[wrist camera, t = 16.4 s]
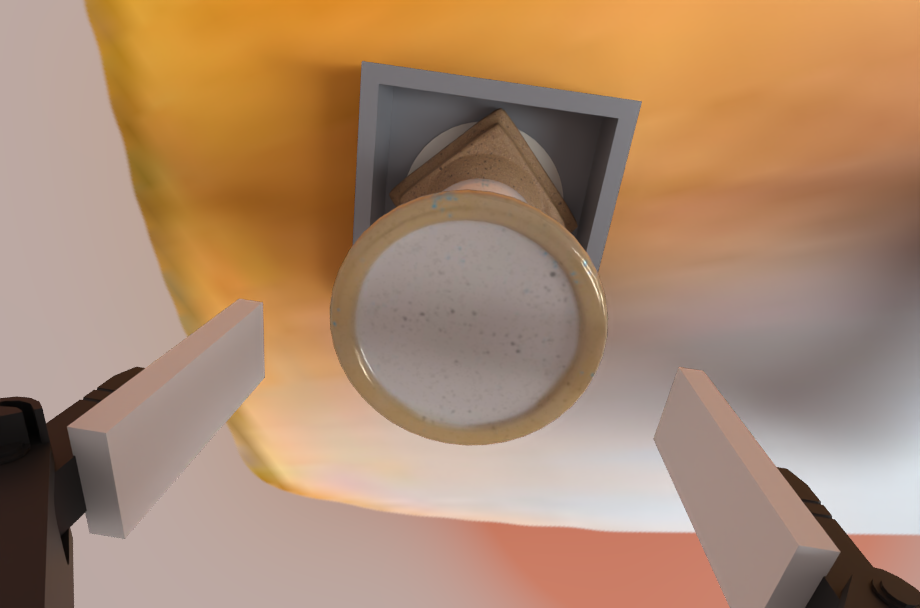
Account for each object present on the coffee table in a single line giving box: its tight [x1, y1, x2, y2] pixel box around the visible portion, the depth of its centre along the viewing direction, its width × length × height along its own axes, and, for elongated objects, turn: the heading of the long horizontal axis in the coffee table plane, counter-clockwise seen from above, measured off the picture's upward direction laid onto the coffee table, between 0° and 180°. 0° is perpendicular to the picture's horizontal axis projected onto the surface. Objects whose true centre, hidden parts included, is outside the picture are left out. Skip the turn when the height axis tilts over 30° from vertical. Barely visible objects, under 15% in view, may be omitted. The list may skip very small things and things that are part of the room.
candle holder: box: [330, 108, 608, 445], centre depth 29 cm, size 11×11×24 cm
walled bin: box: [353, 61, 642, 272], centre depth 38 cm, size 18×18×6 cm
